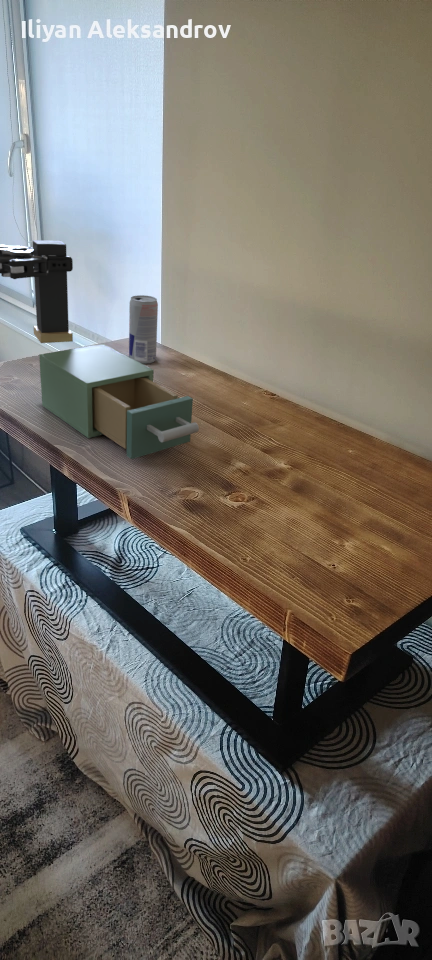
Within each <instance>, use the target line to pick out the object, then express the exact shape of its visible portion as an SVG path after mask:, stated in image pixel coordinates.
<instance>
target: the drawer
mask: <svg viewBox="0 0 432 960" xmlns="http://www.w3.org/2000/svg"><path fill="white" fill-rule="evenodd" d="M193 402H194V398H193V397H191V396H189V395H185V396H182V397H179V395H178V394H177V393H175V392H173V391H171V390H169V389H168V388H166V387H164V386H162V385H160V384H158V383H156V382H155V381H154V380H153V381H151V380H149V379H147V378H145V377H140V378H135V379H130V380H126V381H121V382H116V383H111V384H107V385H102V386H97V387H92V419H93V427H94V428H95V429H97V430H98V431H100V432H101V433H102V434H103V435H104V436H106V437H107V438H109V440H111V441H112V442H115V443H116V444H117V445H119V446H120V447H121V448H123V449H124V450H126V457H127V458H128V459H130V460H134V459H137V458H141V457H143V456H147V455H150V454H153V453H157V452H161V451H164V450H166V449H167V450H168V449H169V448H173V447H177V446H180V445H183V444H187V443H190V442H191V435H193V434H196V433H198V432H199V430H200V427H199V424H198V423H197V422H195V421H193V422H192V419H193V417H192V416H193V404H194V403H193Z"/></svg>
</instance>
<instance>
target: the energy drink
mask: <svg viewBox="0 0 432 960" xmlns="http://www.w3.org/2000/svg"><path fill="white" fill-rule="evenodd" d="M158 309H159V302H158V299H157V298H156V297H154V296H151V295H145V294H144V295H143V294H142V295H141V294H140V295H137V294H136V295H132V296H131V297H130V300H129V309H128V310H129V313H128V315H129V319H128V322H129V323H128V357H130V358H132V359H134V360H135V361H137V362H139V363H141V364H143V365H147V364H151V363H154V362H155V361H156V360H157V347H158V346H157V344H158V342H157V340H158V314H159V313H158V312H159V310H158Z"/></svg>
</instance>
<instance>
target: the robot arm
mask: <svg viewBox="0 0 432 960" xmlns="http://www.w3.org/2000/svg"><path fill="white" fill-rule="evenodd" d="M73 260H74V259H73V258H72V257H71V256H70V255H67V256H45V255H33V246H23V245H21V246H20V245H8V244H7V245H6V244H0V277H4V278H9V279H13V280H17V279H26V278H27V279H28V278H34V277H39V276H47V273H49V272H67V273H68V272H69V273H70V272H72V271H73V268H74V265H73V263H74V262H73ZM34 263H38V268H34Z"/></svg>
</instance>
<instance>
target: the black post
mask: <svg viewBox="0 0 432 960" xmlns="http://www.w3.org/2000/svg"><path fill="white" fill-rule="evenodd" d="M32 247H33V255H45V256H68V255H67V243H65V242H63V241H61V240H47V239H45V240H44V239H39V240H37V239H36V240H35V239H33V240H32ZM34 268H38V263H34ZM33 278H34V293H35V297H34V298H35V312H36V313H35V315H36V325H33V327H32V328H33V335H34V336H35V337H36V339H37V341H38V342H39V343H40V344H53V343H55V344H56V343H70V342H71V343H72V342H73V341H74V337H73V336H74V335H73V334H74V333H73V332H72V331H71V330H70V329H69V327H70V326H69V295H68V294H69V293H68V272H49V273H47V276H39V277H33Z"/></svg>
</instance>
